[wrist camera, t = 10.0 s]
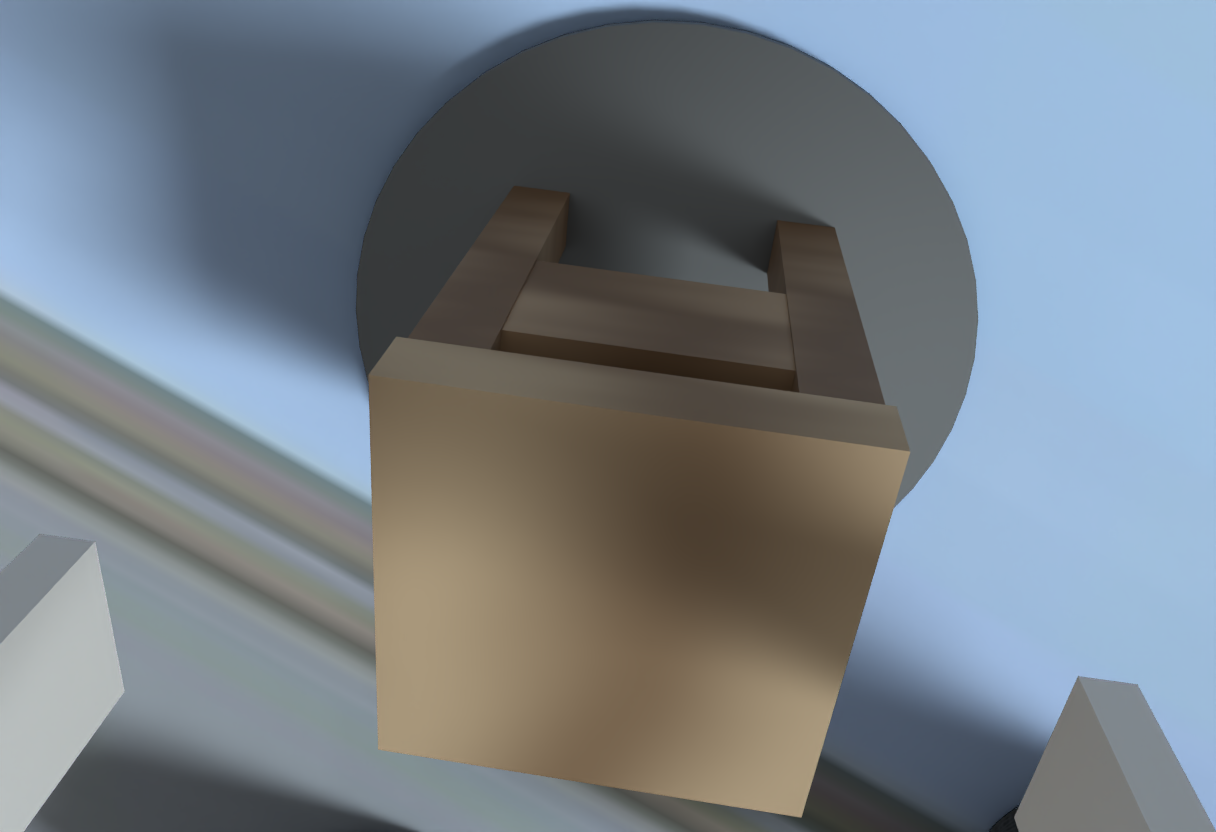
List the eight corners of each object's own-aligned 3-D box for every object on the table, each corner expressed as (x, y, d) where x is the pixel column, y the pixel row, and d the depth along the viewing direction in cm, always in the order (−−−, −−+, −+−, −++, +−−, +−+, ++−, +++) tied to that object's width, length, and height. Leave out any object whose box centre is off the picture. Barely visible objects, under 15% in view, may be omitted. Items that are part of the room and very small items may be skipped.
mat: (369, 540, 26) (363, 551, 26) (354, -21, 19) (345, -18, 19) (887, 617, 26) (890, 630, 25) (1061, 65, 19) (1069, 70, 18)
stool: (495, 458, 24) (378, 749, 16) (509, 180, 21) (368, 375, 13) (778, 499, 24) (801, 817, 16) (840, 223, 20) (909, 451, 12)
